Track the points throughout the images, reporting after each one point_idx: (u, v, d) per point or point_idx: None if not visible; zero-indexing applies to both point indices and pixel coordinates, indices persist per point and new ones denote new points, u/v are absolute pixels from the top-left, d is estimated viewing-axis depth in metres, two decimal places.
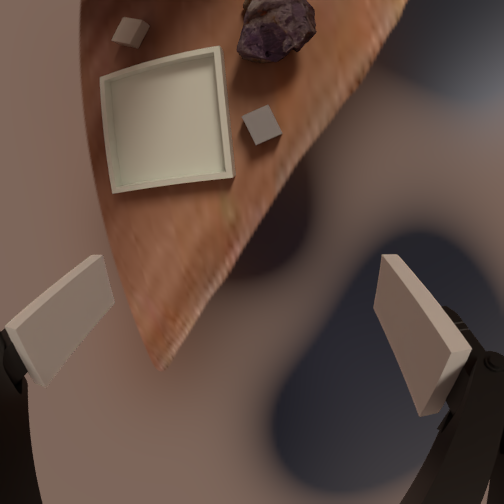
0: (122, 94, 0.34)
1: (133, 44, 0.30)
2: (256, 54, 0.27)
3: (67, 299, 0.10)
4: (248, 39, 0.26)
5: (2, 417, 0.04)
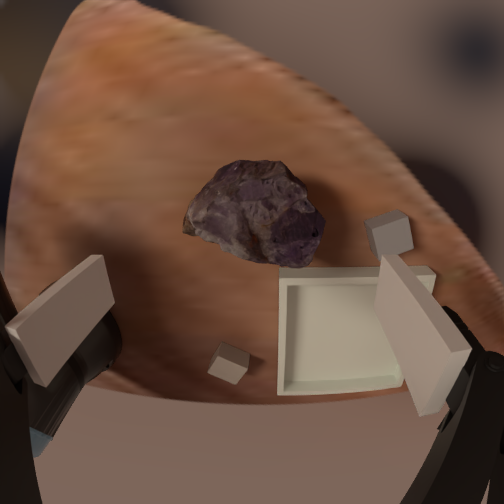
0: (303, 371, 0.36)
1: (247, 362, 0.34)
2: (314, 248, 0.24)
3: (67, 299, 0.10)
4: (292, 258, 0.24)
5: (2, 417, 0.04)
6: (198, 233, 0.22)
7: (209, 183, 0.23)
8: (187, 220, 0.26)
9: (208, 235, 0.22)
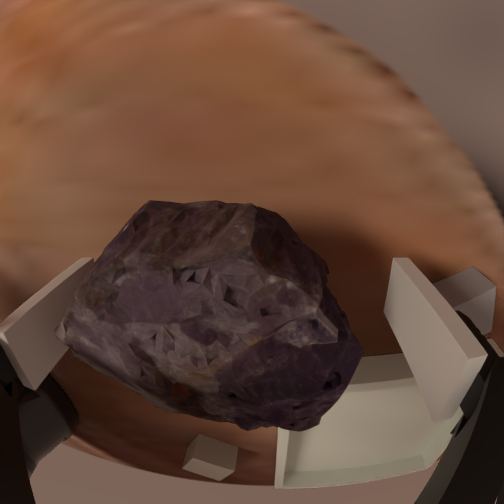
0: (308, 464, 0.23)
1: (234, 461, 0.21)
2: (327, 406, 0.09)
3: (56, 303, 0.10)
4: (273, 424, 0.09)
5: None
6: (75, 356, 0.09)
7: None
8: None
9: (92, 364, 0.09)
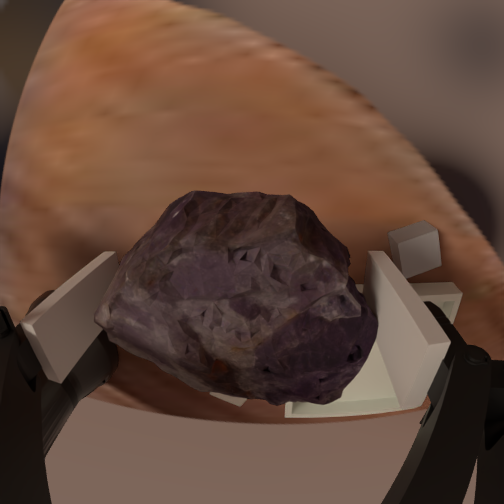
0: None
1: None
2: (349, 379, 0.11)
3: (82, 295, 0.10)
4: (301, 397, 0.11)
5: (14, 416, 0.05)
6: (112, 341, 0.10)
7: (147, 234, 0.11)
8: None
9: (129, 347, 0.10)
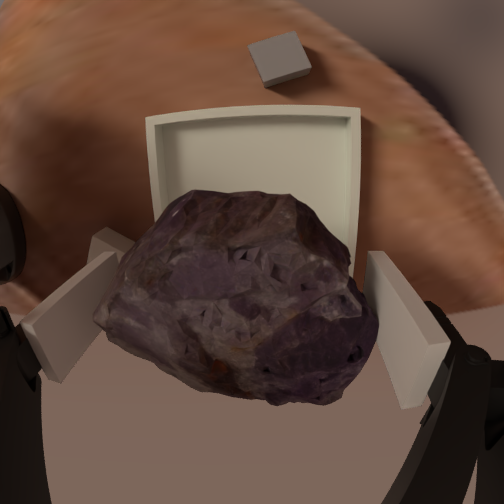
0: None
1: (127, 248, 0.27)
2: (349, 379, 0.11)
3: (82, 295, 0.10)
4: (301, 397, 0.11)
5: (14, 416, 0.05)
6: (111, 340, 0.10)
7: (146, 233, 0.11)
8: None
9: (128, 347, 0.10)
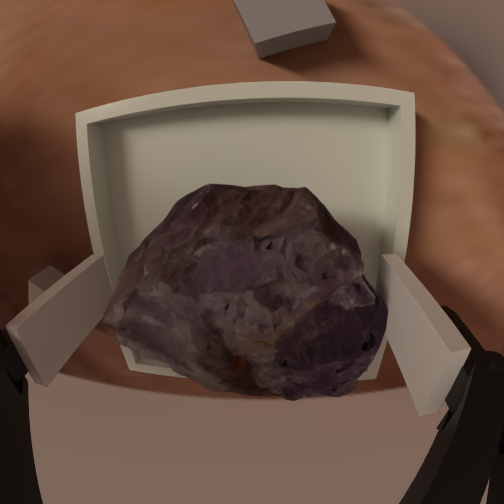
0: None
1: None
2: (363, 368, 0.11)
3: (68, 299, 0.10)
4: (318, 390, 0.11)
5: (3, 417, 0.04)
6: (122, 343, 0.09)
7: (155, 231, 0.11)
8: None
9: (141, 349, 0.10)
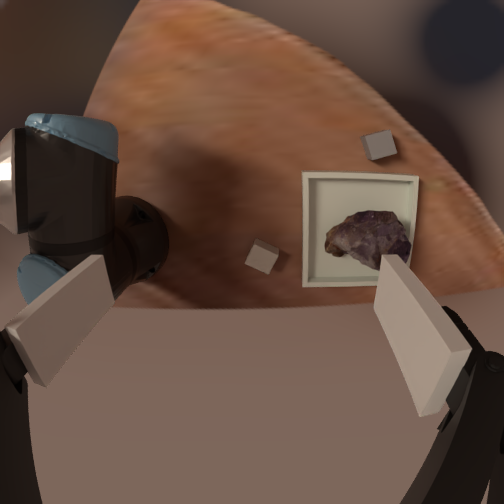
0: (322, 266, 0.46)
1: (277, 252, 0.44)
2: (406, 261, 0.38)
3: (67, 299, 0.10)
4: None
5: (2, 417, 0.04)
6: (352, 254, 0.36)
7: (351, 222, 0.37)
8: (332, 244, 0.40)
9: (357, 255, 0.36)
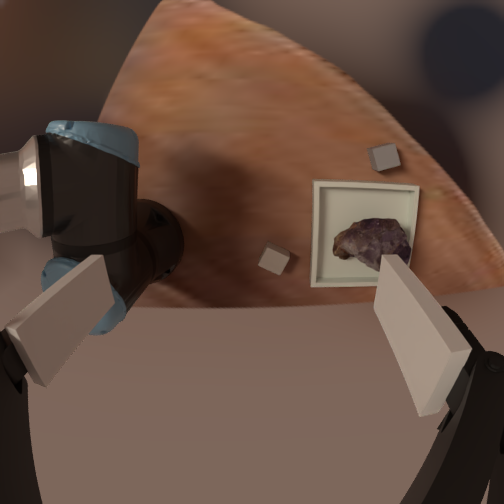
0: (329, 267, 0.49)
1: (288, 254, 0.48)
2: (406, 264, 0.41)
3: (67, 299, 0.10)
4: None
5: (2, 417, 0.04)
6: (359, 258, 0.39)
7: (358, 228, 0.41)
8: (339, 248, 0.43)
9: (363, 259, 0.39)
